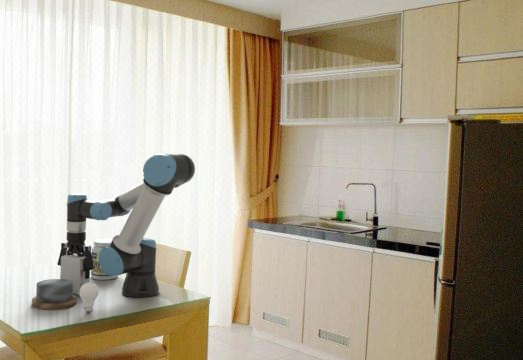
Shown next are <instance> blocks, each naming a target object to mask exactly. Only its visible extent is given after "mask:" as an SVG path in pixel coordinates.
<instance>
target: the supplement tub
mask: <svg viewBox="0 0 523 360" xmlns="http://www.w3.org/2000/svg"><path fill="white" fill-rule="evenodd" d="M112 240H113V238H100V239H95V240H93V246H92V247H91V254H92V260H93V265H94V269H93V270H90V278H92V279H93V280H94V279H95V280H98V281H99V280H100V281H108V280H114V279H116V278H118V276H110V275H107V274H106V273H105V272H104V271H103V270H102V269H101V267H100V263H99V253H100V251H101V250H102V249H103V248H105V247H107V246H108V247H109V245H110V244H111V242H112Z"/></svg>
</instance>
